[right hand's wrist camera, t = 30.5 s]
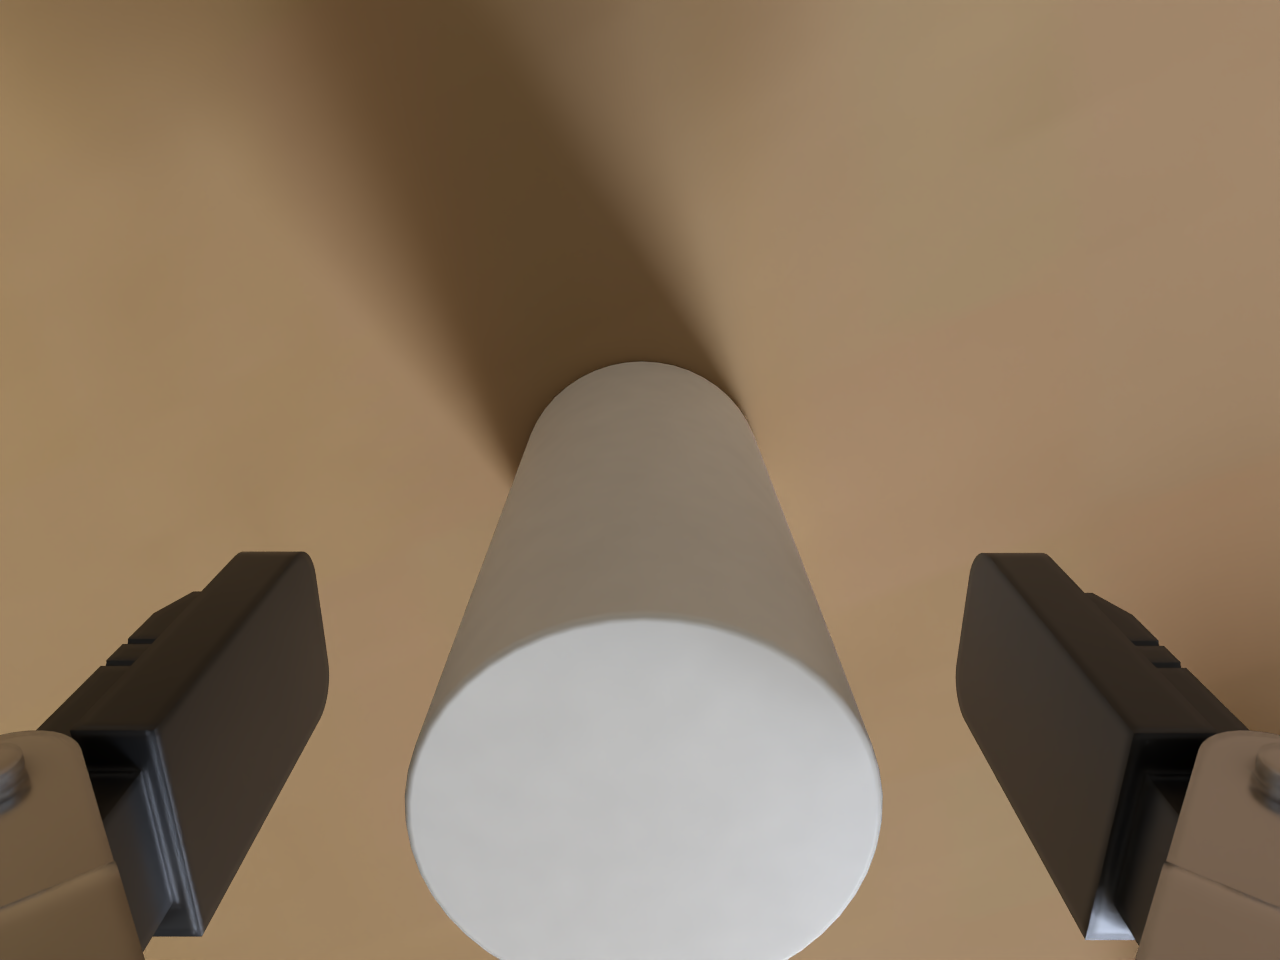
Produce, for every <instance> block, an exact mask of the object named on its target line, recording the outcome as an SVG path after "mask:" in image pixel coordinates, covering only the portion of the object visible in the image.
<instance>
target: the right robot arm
mask: <svg viewBox="0 0 1280 960" xmlns="http://www.w3.org/2000/svg"><path fill="white" fill-rule="evenodd" d="M106 662H107V663H106V666H100V667H99V668H98V669H97V670H96V671H95V672H94V673H93V674H92V675H91V676H90V677H89V678H88V679H87V680H86V681H85V682H84V683H83V684H82V685H81V686H80V687H79V688H78V689H77V690H76V691H75V692H74V693H73V694H72V695H71V696H70V697H69V698H68V699H67V700H66V701H65V702H64V703H63V704H62V705H61V706H60V707H59V708H58V709H57V710H56V711H55V712H54V713H53V714H52V715H51V716H50V717H49V718H48V719H47V720H46V721H45V722H44V723H43V724H42V725H41V726H40V727H39V728H38V729H37V730H36V731H21V732H13V733H8V734H3V735H0V960H145V958H144V955H143V951H144V950H145V948H146V946H147V945H148V943H149V941H150V940H151V938H152V936H202V935H203V933H204V931H205V930H206V928H207V926H208V924H209V922H210V920H211V919H212V917H213V915H214V913H215V911H216V909H217V908H218V906H219V904H220V902H221V900H222V898H223V897H224V895H225V893H226V891H227V889H228V887H229V885H230V884H231V882H232V880H233V878H234V876H235V874H236V873H237V871H238V869H239V867H240V865H241V863H242V862H243V860H244V858H245V856H246V854H247V852H248V850H249V849H250V847H251V845H252V843H253V841H254V839H255V838H256V836H257V834H258V832H259V830H260V828H261V827H262V825H263V823H264V821H265V819H266V817H267V816H268V814H269V812H270V810H271V808H272V806H273V804H274V803H275V801H276V799H277V797H278V795H279V793H280V792H281V790H282V788H283V786H284V784H285V782H286V781H287V779H288V777H289V775H290V773H291V771H292V769H293V768H294V766H295V764H296V762H297V760H298V758H299V757H300V755H301V753H302V751H303V749H304V747H305V746H306V744H307V742H308V740H309V738H310V736H311V735H312V733H313V731H314V729H315V727H316V725H317V723H318V722H319V720H320V718H321V716H322V713H323V710H324V707H325V704H326V699H327V694H328V685H329V666H328V658H327V651H326V644H325V637H324V630H323V623H322V616H321V609H320V602H319V595H318V588H317V581H316V574H315V569H314V565H313V562H312V560H311V558H310V556H309V555H308V554H307V553H305V552H240V553H238V554H237V555H236V556H235V557H234V558H233V559H232V560H231V561H230V562H229V563H228V564H227V565H226V566H225V567H224V568H223V569H222V570H221V571H220V573H219V574H218V575H217V576H216V577H215V578H214V579H213V580H212V581H211V582H210V583H209V584H208V585H207V586H206V587H205V588H204V589H203V590H202V591H201V592H192V593H190V594H188V595H186V596H184V597H182V598H181V599H179V600H177V601H175V602H173V603H172V604H170V605H168V606H166V607H164V608H163V609H161V610H159V611H157V612H155V613H154V614H153V615H152V616H151V617H150V618H149V619H148V620H147V621H146V622H145V623H144V624H143V625H142V626H141V627H140V628H138V629H137V630H136V631H135V632H134V633H133V634H132V635H131V636H130V637H129V638H128V644H122V645H121V646H120V647H119V648H118V649H117V650H116V651H115V652H114V653H113V654H112V655H111V656H110V657H109V658H108V659H107V660H106ZM1180 663H1181V662H1180V661H1179V660H1178V659H1176V658H1175V657H1174V656H1173V655H1172V654H1171V653H1170V652H1169V651H1168V650H1167V649H1166V648H1165V647H1164V646H1159V644H1158V640H1157V639H1156V638H1155V637H1154V636H1153V635H1152V634H1151V633H1150V632H1149V631H1148V630H1147V629H1146V628H1145V627H1144V626H1143V625H1142V624H1141V623H1140V622H1139V621H1138V620H1137V619H1136V618H1135V617H1134V616H1133V615H1131V614H1130V613H1128V612H1126V611H1124V610H1122V609H1121V608H1119V607H1117V606H1115V605H1113V604H1111V603H1110V602H1108V601H1106V600H1104V599H1102V598H1101V597H1099V596H1097V595H1095V594H1093V593H1084V592H1083V591H1082V590H1081V589H1080V588H1079V587H1078V586H1077V585H1076V584H1075V583H1074V581H1073V580H1072V579H1071V578H1070V577H1069V576H1068V575H1067V574H1066V573H1065V572H1064V571H1063V570H1062V569H1061V568H1060V567H1059V566H1058V565H1057V564H1056V563H1055V562H1054V561H1053V560H1052V559H1051V557H1049V556H1048V555H1047V554H1044V553H981V554H979V555H977V556H976V558H975V559H974V561H973V564H972V567H971V570H970V576H969V582H968V589H967V596H966V603H965V610H964V616H963V623H962V630H961V637H960V644H959V651H958V658H957V665H956V689H957V697H958V702H959V706H960V710H961V713H962V715H963V718H964V720H965V722H966V724H967V725H968V727H969V729H970V731H971V733H972V734H973V736H974V738H975V740H976V742H977V744H978V745H979V747H980V749H981V751H982V753H983V754H984V756H985V758H986V760H987V762H988V764H989V765H990V767H991V769H992V771H993V773H994V774H995V776H996V778H997V780H998V782H999V784H1000V785H1001V787H1002V789H1003V791H1004V793H1005V794H1006V796H1007V798H1008V800H1009V802H1010V804H1011V805H1012V807H1013V809H1014V811H1015V813H1016V814H1017V816H1018V818H1019V820H1020V822H1021V824H1022V825H1023V827H1024V829H1025V831H1026V833H1027V834H1028V836H1029V838H1030V840H1031V842H1032V844H1033V845H1034V847H1035V849H1036V851H1037V853H1038V854H1039V856H1040V858H1041V860H1042V862H1043V864H1044V865H1045V867H1046V869H1047V871H1048V873H1049V874H1050V876H1051V878H1052V880H1053V882H1054V884H1055V885H1056V887H1057V889H1058V891H1059V893H1060V894H1061V896H1062V898H1063V900H1064V902H1065V904H1066V905H1067V907H1068V909H1069V911H1070V913H1071V914H1072V916H1073V918H1074V920H1075V922H1076V924H1077V925H1078V927H1079V929H1080V931H1081V933H1082V934H1083V936H1084V938H1085V940H1136V942H1137V943H1138V945H1139V948H1138V952H1137V955H1136V958H1135V960H1280V735H1277V734H1272V733H1267V732H1259V731H1250V730H1249V729H1248V728H1247V727H1245V726H1244V725H1243V724H1242V723H1241V722H1240V721H1239V720H1238V719H1237V718H1236V717H1235V716H1234V715H1233V714H1232V713H1231V712H1230V711H1229V710H1228V709H1227V708H1226V707H1225V706H1224V705H1223V704H1222V703H1221V702H1220V701H1219V700H1218V699H1217V698H1216V697H1215V696H1214V695H1213V694H1212V693H1211V692H1210V691H1209V690H1208V689H1207V688H1206V687H1205V686H1204V685H1203V684H1202V683H1201V682H1200V681H1199V680H1198V679H1197V678H1196V677H1195V676H1194V675H1193V674H1192V673H1191V672H1190V671H1189V670H1188V669H1187V668H1181V666H1180Z"/></svg>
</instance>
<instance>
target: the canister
mask: <svg viewBox="0 0 1280 960" xmlns="http://www.w3.org/2000/svg"><path fill="white" fill-rule="evenodd" d="M882 797H883V794H882V786H881V779H880V771H879V767H878V763H877V760H876V757H875V753H874V750H873V747H872V744H871V741H870V738H869V736H868V733H867V731H866V728H865V725H864V723H863V720H862V717H861V715H860V712H859V710H858V707H857V704H856V702H855V699H854V696H853V694H852V691H851V689H850V686H849V683H848V681H847V678H846V675H845V673H844V670H843V668H842V665H841V662H840V660H839V657H838V655H837V652H836V649H835V647H834V644H833V641H832V639H831V636H830V634H829V631H828V628H827V626H826V623H825V620H824V618H823V615H822V613H821V610H820V607H819V605H818V602H817V600H816V597H815V594H814V592H813V589H812V586H811V584H810V581H809V579H808V576H807V573H806V571H805V568H804V565H803V563H802V560H801V558H800V555H799V552H798V550H797V547H796V544H795V542H794V539H793V537H792V534H791V531H790V529H789V526H788V524H787V521H786V518H785V516H784V513H783V510H782V508H781V505H780V503H779V500H778V497H777V495H776V492H775V489H774V487H773V484H772V482H771V479H770V476H769V474H768V471H767V468H766V466H765V463H764V461H763V458H762V455H761V453H760V450H759V448H758V445H757V442H756V440H755V437H754V434H753V432H752V430H751V428H750V426H749V424H748V422H747V420H746V418H745V417H744V415H743V414H742V412H741V411H740V409H739V408H738V407H737V406H736V404H735V403H734V402H733V401H732V400H731V399H730V398H729V396H727V395H726V394H725V393H724V392H723V391H722V390H720V389H719V388H718V387H717V386H716V385H714V384H713V383H711V382H710V381H708V380H707V379H705V378H703V377H701V376H699V375H697V374H695V373H693V372H691V371H689V370H686V369H683V368H680V367H677V366H674V365H668V364H663V363H658V362H627V363H621V364H616V365H611V366H607V367H605V368H602V369H599V370H596V371H593V372H591V373H589V374H587V375H585V376H583V377H581V378H579V379H578V380H576V381H575V382H573V383H572V384H570V385H569V386H567V387H566V388H565V389H564V390H563V391H562V392H560V393H559V394H558V395H557V396H556V397H555V398H554V399H553V400H552V401H551V402H550V404H549V405H548V406H547V407H546V408H545V410H544V411H543V413H542V414H541V416H540V417H539V419H538V420H537V422H536V424H535V427H534V429H533V431H532V433H531V435H530V438H529V440H528V443H527V446H526V449H525V451H524V454H523V457H522V459H521V462H520V465H519V467H518V470H517V473H516V476H515V478H514V481H513V484H512V486H511V489H510V492H509V494H508V497H507V500H506V502H505V505H504V508H503V511H502V513H501V516H500V519H499V521H498V524H497V527H496V529H495V532H494V535H493V538H492V540H491V543H490V546H489V548H488V551H487V554H486V556H485V559H484V562H483V564H482V567H481V570H480V573H479V575H478V578H477V581H476V583H475V586H474V589H473V591H472V594H471V597H470V600H469V602H468V605H467V608H466V610H465V613H464V616H463V618H462V621H461V624H460V626H459V629H458V632H457V635H456V637H455V640H454V643H453V645H452V648H451V651H450V653H449V656H448V659H447V662H446V664H445V667H444V670H443V672H442V675H441V678H440V680H439V683H438V686H437V689H436V691H435V694H434V697H433V699H432V702H431V705H430V707H429V710H428V713H427V715H426V718H425V721H424V724H423V726H422V729H421V732H420V734H419V737H418V740H417V742H416V745H415V749H414V752H413V755H412V759H411V762H410V765H409V769H408V775H407V783H406V790H405V814H406V825H407V830H408V835H409V840H410V845H411V849H412V852H413V855H414V857H415V860H416V863H417V865H418V868H419V871H420V873H421V875H422V877H423V879H424V881H425V883H426V884H427V886H428V888H429V890H430V892H431V894H432V895H433V897H434V898H435V899H436V901H437V902H438V903H439V905H440V906H441V907H442V909H443V910H444V912H445V913H446V914H447V916H448V917H449V918H450V919H451V920H452V921H453V922H454V923H455V924H456V925H457V926H458V927H459V928H460V929H461V930H462V931H463V932H464V933H465V934H466V935H467V936H468V937H470V938H471V939H472V940H473V941H475V942H476V943H477V944H478V945H480V946H481V947H482V948H483V949H485V950H486V951H487V952H489V953H490V954H492V955H494V956H495V957H497V958H498V959H500V960H787V959H789V958H790V957H792V956H793V955H795V954H797V953H798V952H800V951H801V950H803V949H804V948H805V947H806V946H808V945H809V944H810V943H811V942H813V941H814V940H815V939H816V938H818V937H819V936H820V935H821V934H822V933H823V932H824V931H825V930H826V929H827V928H828V927H829V926H830V925H831V924H832V923H833V922H834V921H835V920H836V919H837V918H838V917H839V916H840V915H841V913H842V912H843V911H844V909H845V908H846V907H847V905H848V904H849V902H850V901H851V900H852V898H853V897H854V896H855V894H856V892H857V891H858V889H859V887H860V885H861V883H862V881H863V879H864V878H865V876H866V874H867V872H868V869H869V867H870V864H871V861H872V858H873V855H874V853H875V850H876V846H877V842H878V837H879V831H880V826H881V821H882Z"/></svg>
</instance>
